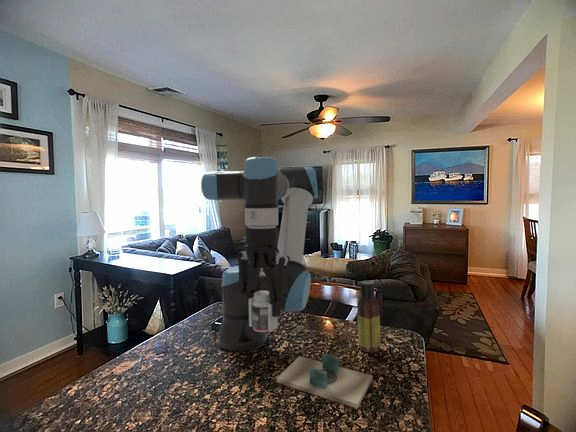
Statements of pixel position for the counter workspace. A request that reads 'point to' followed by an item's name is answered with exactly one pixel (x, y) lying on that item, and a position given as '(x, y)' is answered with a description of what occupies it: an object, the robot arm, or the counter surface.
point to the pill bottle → (260, 311)
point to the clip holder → (327, 380)
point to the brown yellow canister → (368, 319)
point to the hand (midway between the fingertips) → (263, 326)
